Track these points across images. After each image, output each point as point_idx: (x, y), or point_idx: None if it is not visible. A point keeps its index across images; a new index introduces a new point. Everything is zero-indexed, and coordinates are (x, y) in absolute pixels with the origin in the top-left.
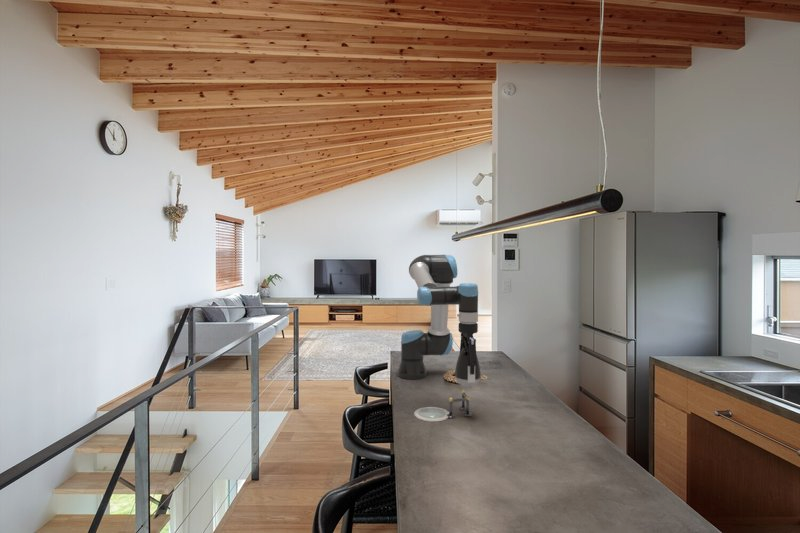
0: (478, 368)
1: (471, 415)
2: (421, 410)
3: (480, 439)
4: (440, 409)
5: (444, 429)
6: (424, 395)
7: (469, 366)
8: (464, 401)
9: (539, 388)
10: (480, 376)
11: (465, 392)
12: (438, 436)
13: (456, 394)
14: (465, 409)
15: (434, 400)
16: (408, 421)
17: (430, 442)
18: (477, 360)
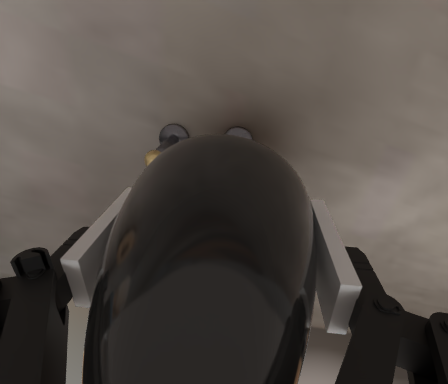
0: (294, 208)
1: (246, 130)
2: None
3: (444, 162)
4: None
5: None
6: (53, 225)
7: (346, 320)
8: (170, 144)
9: None
10: (276, 155)
11: (159, 152)
12: (371, 262)
13: (18, 118)
14: (187, 134)
15: (95, 208)
16: None
17: (399, 285)
18: (273, 257)
